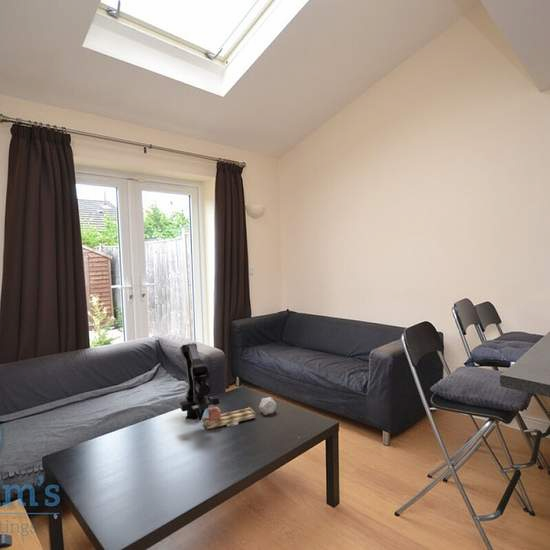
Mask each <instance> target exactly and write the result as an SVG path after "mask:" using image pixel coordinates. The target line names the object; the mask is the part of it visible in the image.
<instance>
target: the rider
mask: <svg viewBox="0 0 550 550" xmlns="http://www.w3.org/2000/svg"><path fill="white" fill-rule="evenodd" d="M207 412H208V417H209V421H213V420H217V419H220V414H222V410H221V409H220V408H219V407H218V406H215V407H210V408H209V407H208V408H207Z"/></svg>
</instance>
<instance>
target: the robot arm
mask: <svg viewBox="0 0 550 550" xmlns="http://www.w3.org/2000/svg"><path fill="white" fill-rule="evenodd" d="M179 351H180V355H181V357H182V359H183V360H184V362H185V367H186V368H185V369H186V378H187V386H188V387H187V391H186V393H185V395H186V396H185V397H184V401H180V403H179V409H180V411H181V412H186V416H185V419H189V420H199V421H202V420H203V416H204V413H205V411H206V409H207V410H208V409H209V407H210V406H211V405H213V406H217V405H219V404H220V398H219V397H218V395H210V396H208V395H209V394H210V393H211V390H212V389H211V386H210V385H209V384H208V383H207V380H210V375H211V374H210V371H209V367H208V366H207V365H208V364H207V365H206V363H205V361H204V360H202V359H201V356H200V355H199V350H198V345H197V343H195V342H194V343H193V342H192V343H186V344H182V345H181V346H180V348H179ZM220 405H221V404H220Z"/></svg>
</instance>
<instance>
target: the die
mask: <svg viewBox="0 0 550 550" xmlns="http://www.w3.org/2000/svg"><path fill="white" fill-rule="evenodd" d="M276 407H277V403H276V402H275V400H274V399H273V398H272V397H271V396H269V397H262V398H261V400H260V403H259V405H258V408H259V410H260V411H261V412H262V414H263V415H264V416H267V415H271V414H274V413H275V409H276Z"/></svg>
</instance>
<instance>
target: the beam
mask: <svg viewBox="0 0 550 550" xmlns="http://www.w3.org/2000/svg"><path fill="white" fill-rule="evenodd" d="M255 418H256V412H255V411H254V409H252V408H251V407H250V406H248V407H247V408H242V409H239V410H234V411H227V412H225V413H220V419H217V420H213V421H209V416H206V417H202V423H203V424H204V426H205V428H206V429H207V430H208V429H213V428H217V427H222V426H224V425H225V426H226V427H227V428H229V427H233V426H238V425H239V422H243V421H247V420H250V419H255Z"/></svg>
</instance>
